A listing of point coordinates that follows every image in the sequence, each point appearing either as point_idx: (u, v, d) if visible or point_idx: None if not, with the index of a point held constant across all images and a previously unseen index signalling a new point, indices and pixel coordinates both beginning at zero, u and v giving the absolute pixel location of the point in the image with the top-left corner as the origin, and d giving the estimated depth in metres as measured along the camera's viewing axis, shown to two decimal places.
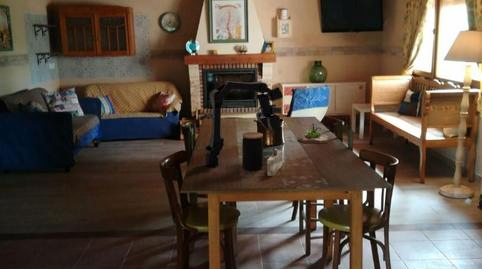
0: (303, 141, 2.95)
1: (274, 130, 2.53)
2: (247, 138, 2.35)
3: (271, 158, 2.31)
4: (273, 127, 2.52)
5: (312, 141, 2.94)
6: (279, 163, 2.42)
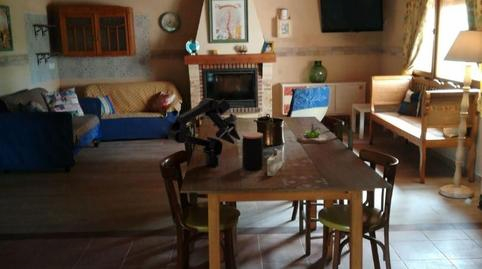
0: (302, 141, 2.95)
1: (231, 141, 2.38)
2: (247, 138, 2.35)
3: (271, 158, 2.31)
4: (228, 139, 2.38)
5: (311, 141, 2.94)
6: (279, 163, 2.42)
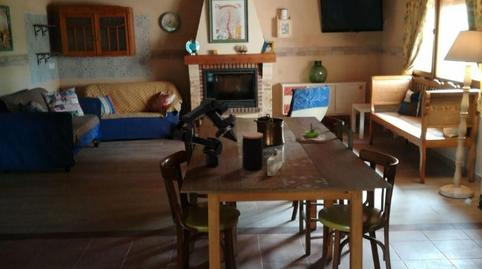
0: (301, 141, 2.96)
1: (234, 140, 2.42)
2: (247, 138, 2.35)
3: (271, 158, 2.31)
4: (230, 137, 2.42)
5: (310, 141, 2.94)
6: (279, 163, 2.42)
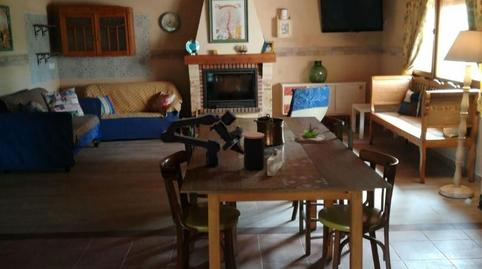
0: (299, 141, 2.96)
1: (241, 152, 2.42)
2: (248, 138, 2.35)
3: (271, 158, 2.31)
4: (237, 150, 2.42)
5: (308, 141, 2.95)
6: (279, 163, 2.42)
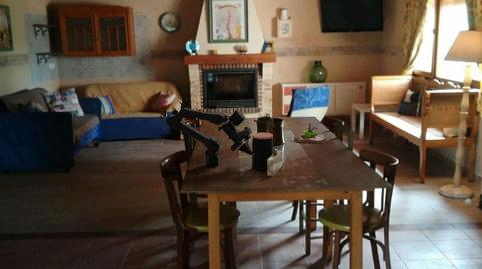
0: (299, 141, 2.96)
1: (249, 153, 2.41)
2: (257, 139, 2.34)
3: (271, 158, 2.31)
4: (246, 150, 2.41)
5: (307, 141, 2.95)
6: (279, 163, 2.42)
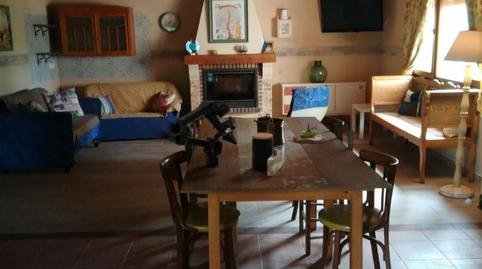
0: (297, 141, 2.96)
1: (233, 142, 2.41)
2: (257, 139, 2.33)
3: (271, 158, 2.31)
4: (230, 140, 2.41)
5: (306, 141, 2.95)
6: (279, 163, 2.42)
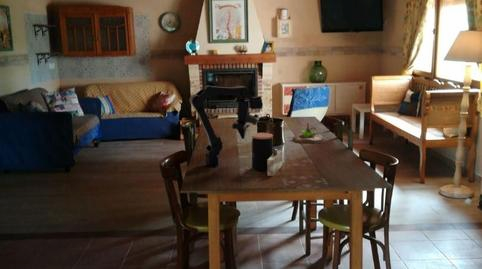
0: (297, 141, 2.96)
1: (242, 136, 2.50)
2: (257, 139, 2.33)
3: (271, 158, 2.31)
4: (241, 132, 2.49)
5: (306, 141, 2.95)
6: (279, 163, 2.42)
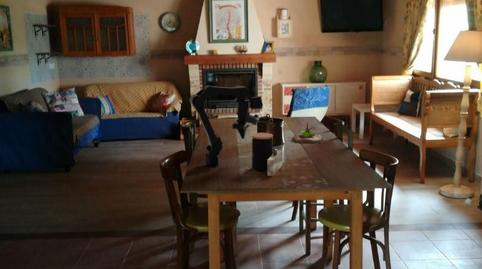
0: (296, 141, 2.96)
1: (242, 136, 2.50)
2: (257, 139, 2.33)
3: (271, 158, 2.31)
4: (241, 133, 2.49)
5: (305, 141, 2.95)
6: (279, 163, 2.42)
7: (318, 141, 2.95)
